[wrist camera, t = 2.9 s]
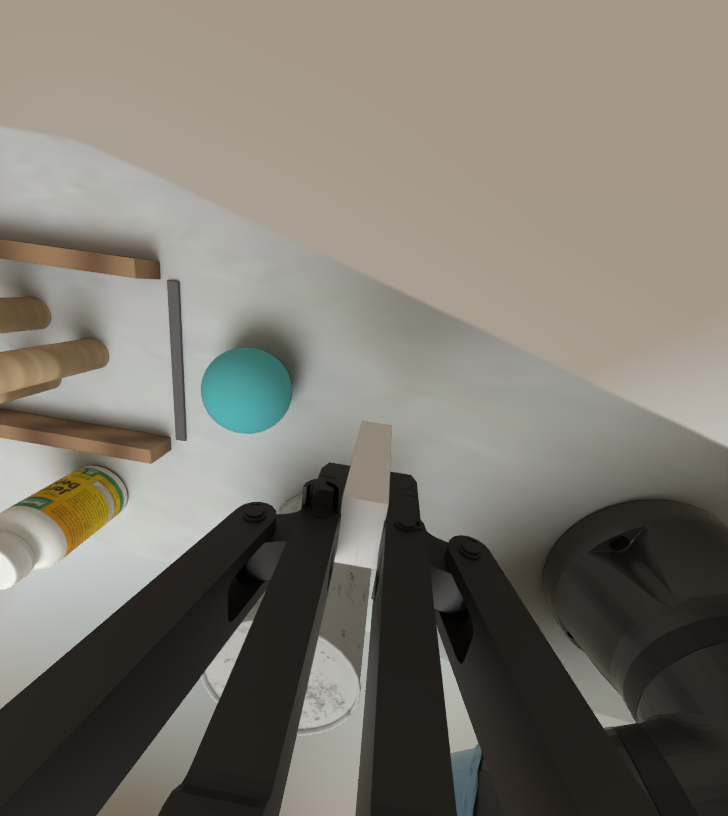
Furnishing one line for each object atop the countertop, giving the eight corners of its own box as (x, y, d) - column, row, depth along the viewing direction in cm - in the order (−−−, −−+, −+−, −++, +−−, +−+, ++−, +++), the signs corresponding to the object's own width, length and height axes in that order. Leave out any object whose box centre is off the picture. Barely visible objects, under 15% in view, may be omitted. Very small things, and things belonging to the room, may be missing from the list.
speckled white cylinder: (303, 589, 34) (252, 746, 22) (252, 512, 31) (166, 643, 20) (392, 561, 32) (388, 720, 20) (346, 477, 29) (310, 601, 18)
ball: (304, 347, 26) (277, 364, 20) (299, 421, 28) (273, 455, 22) (227, 336, 26) (179, 348, 20) (227, 409, 28) (183, 440, 22)
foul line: (179, 282, 25) (177, 282, 25) (186, 440, 29) (185, 441, 29) (168, 280, 25) (167, 280, 25) (177, 438, 29) (176, 439, 29)
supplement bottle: (95, 518, 33) (-19, 604, 24) (64, 471, 32) (-69, 543, 23) (140, 506, 32) (40, 591, 23) (111, 457, 31) (-9, 526, 22)
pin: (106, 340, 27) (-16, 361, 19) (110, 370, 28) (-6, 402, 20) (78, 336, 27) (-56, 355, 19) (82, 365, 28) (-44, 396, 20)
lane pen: (159, 261, 25) (128, 257, 22) (170, 449, 30) (146, 466, 27) (-75, 228, 26) (-134, 220, 23) (-25, 416, 31) (-68, 429, 28)
